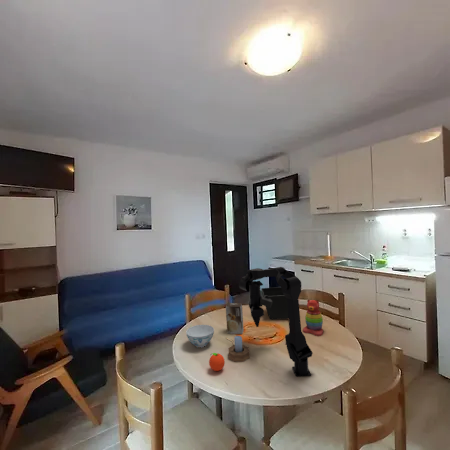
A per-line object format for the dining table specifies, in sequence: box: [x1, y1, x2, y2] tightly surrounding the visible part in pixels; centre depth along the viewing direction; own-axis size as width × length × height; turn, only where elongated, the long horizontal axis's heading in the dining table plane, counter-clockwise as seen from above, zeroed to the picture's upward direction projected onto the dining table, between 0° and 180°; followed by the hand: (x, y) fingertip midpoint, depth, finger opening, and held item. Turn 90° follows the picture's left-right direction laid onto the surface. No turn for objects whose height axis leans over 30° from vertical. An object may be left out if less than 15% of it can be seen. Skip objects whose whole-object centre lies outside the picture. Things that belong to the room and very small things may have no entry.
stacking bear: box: [302, 299, 324, 337], centre depth 147 cm, size 11×10×18 cm
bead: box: [227, 343, 251, 363], centre depth 125 cm, size 10×10×3 cm
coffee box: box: [225, 302, 245, 335], centre depth 152 cm, size 9×6×16 cm
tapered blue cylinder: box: [233, 335, 243, 353], centre depth 125 cm, size 4×4×9 cm
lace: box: [225, 337, 235, 346], centre depth 137 cm, size 15×3×1 cm, turn 20°
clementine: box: [208, 352, 226, 372], centre depth 115 cm, size 8×7×7 cm
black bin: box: [260, 286, 289, 320], centre depth 172 cm, size 19×19×17 cm
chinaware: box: [185, 324, 215, 348], centre depth 138 cm, size 15×15×8 cm
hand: (256, 322), depth 134 cm, fingers open, 9 cm apart
